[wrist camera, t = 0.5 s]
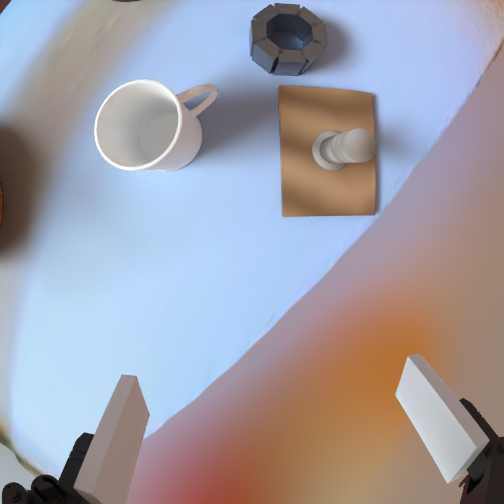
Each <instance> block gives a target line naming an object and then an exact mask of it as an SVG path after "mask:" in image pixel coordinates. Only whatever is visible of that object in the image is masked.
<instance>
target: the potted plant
mask: <svg viewBox="0 0 504 504" xmlns="http://www.w3.org/2000/svg"><path fill="white" fill-rule="evenodd" d="M2 214H3V197H2V189H1V185H0V226H1V222H2Z"/></svg>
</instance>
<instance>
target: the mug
mask: <svg viewBox="0 0 504 504" xmlns="http://www.w3.org/2000/svg"><path fill="white" fill-rule="evenodd" d="M206 92H211V94H210V95H209V96H208V97H207V98H206V99H205V100H204V101H203V102H202V103H201V104H199V105H198V106H197V107H195V108H194V109H192V110H189V109H188V108H186V107H185V105H184V104H183V103H185V102H186V101H187V100H189V99H191V98H193V97H195V96H197V95H200V94H202V93H206ZM217 96H218V89H217V88H216V87H215V86H214V85H211V84H205V85H200V86H197V87H194V88H192V89H189V90H187V91H185V92H183V93H181V94H178V95H175V93H174V92H173V91H172V90H171V89H170V88H169V87H167V86H166V85H164V84H162V83H160V82H158V81H155V80H149V79H140V80H134V81H131V82H128V83H126V84H123V85H122V86H120V87H118V88H117V89H116V90H114V91H113V92H112V93H111V94H110V95H109V96H108V97H107V98H106V100H105V101H104V102H103V104H102V105H101V107H100V109H99V111H98V114H97V117H96V121H95V129H94V133H95V141H96V144H97V147H98V149H99V151H100V153H101V155H102V156H103V157H104V158H105V159H106V160H107V161H108V162H109V163H110V164H112V165H113V166H115V167H118V168H120V169H124V170H156V171H160V172H172V171H176V170H179V169H181V168H183V167H185V166H186V165H187V164H189V163H190V162H191V161H192V160H193V159H194V158H195V156H196V155H197V153H198V151H199V149H200V146H201V143H202V128H201V124H200V122H199V120H198V118H197V117H196V116H197V115H198V114H199V113H201V112H202V111H203V110H204V109H206V108H207V107H208V106H209V105H210V104H211V103H212V102H213V101H214V100H215V99H216V97H217Z"/></svg>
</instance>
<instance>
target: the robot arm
mask: <svg viewBox="0 0 504 504" xmlns="http://www.w3.org/2000/svg"><path fill="white" fill-rule="evenodd" d="M114 1H119V2H131V1H138V0H114ZM396 397H397V399H398V400H399V402H400V403H401V405H402V407H403V408H404V410H405V412H406V413H407V415H408V416H409V418H410V420H411V422H412V423H413V425H414V426H415V428H416V430H417V432H418V433H419V435H420V437H421V438H422V440H423V442H424V443H425V445H426V447H427V448H428V450H429V452H430V454H431V455H432V457H433V459H434V461H435V462H436V464H437V466H438V468H439V469H440V471H441V473H442V475H443V476H444V478H445V480H446V482H447V483H450V482H452V481H454V480H456V479H457V478H459V477H461V476H462V475H463V473H464V472H465V471H466V470H467V471H468V473H469V474H468V475H467V476H466V477H465V478H464V479H463V481H462V482H461V483H460V485H459V487H461V486H462V485H463V484H464V483H465V485H464V489H463V493H462V497H461V501H460V504H504V437H498V435H497V434H496V433H495V432H494V431H493V429H492V428H491V427H490V425H489V424H488V423H487V422H486V420H485V419H484V418H483V417H482V415H481V414H480V413H479V412H477V409H476V408H475V407H474V406H473V404H472V403H470V402H469V401H467V400H466V399H464V398H463V399H461V400H458V399H457V397H456V396H455V395H454V394H453V393H452V391H451V390H450V389H449V388H448V386H447V385H446V384H445V383H444V382H443V380H442V379H441V378H440V377H439V375H438V374H437V373H436V372H435V371H434V370H433V368H432V367H431V366H430V365H429V364H428V363H427V362H426V360H425V359H424V358H423V357H422V356H421V354H415V355H411V356H408V357H407V361H406V364H405V367H404V371H403V373H402V377H401V380H400V383H399V386H398V389H397V391H396ZM149 415H150V414H149V412H148V409H147V406H146V403H145V400H144V397H143V395H142V392H141V389H140V386H139V383H138V379H137V376H131V375H121V377H120V380H119V382H118V384H117V386H116V388H115V390H114V392H113V394H112V397H111V399H110V401H109V403H108V405H107V408H106V410H105V412H104V414H103V417H102V419H101V421H100V423H99V426H98V428H97V430H96V433H95V435H94V434H89V433H85V432H84V433H83V434H82V435H81V436H80V437H79V438H78V439H77V440H76V442H75V444H74V446H73V450H72V451H71V453H70V455H69V458H68V460H67V462H66V464H65V467H64V469H63V471H62V474H61V476H60V478H59V481H58V480H57V479H56V478H54V477H53V476H50V475H40V476H38V477H36V478H35V479H34V480H33V482H32V485H31V490H26V489H25V488H24V487H23V486H22V485H20V484H18V483H15V482H13V483H9V484H7V485H5V487H4V488H3V491H2V504H126V501H127V497H128V493H129V489H130V485H131V481H132V477H133V473H134V469H135V466H136V462H137V458H138V454H139V450H140V447H141V443H142V440H143V436H144V433H145V429H146V426H147V422H148V419H149Z"/></svg>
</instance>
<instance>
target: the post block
mask: <svg viewBox="0 0 504 504" xmlns="http://www.w3.org/2000/svg"><path fill="white" fill-rule="evenodd" d="M278 103H279V126H280V153H281V190H282V216H283V217H301V216H353V215H375V187H376V167H375V152H376V142H375V132H374V115H373V102H372V93H366V92H359V91H351V90H342V89H332V88H320V87H305V86H279V87H278Z"/></svg>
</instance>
